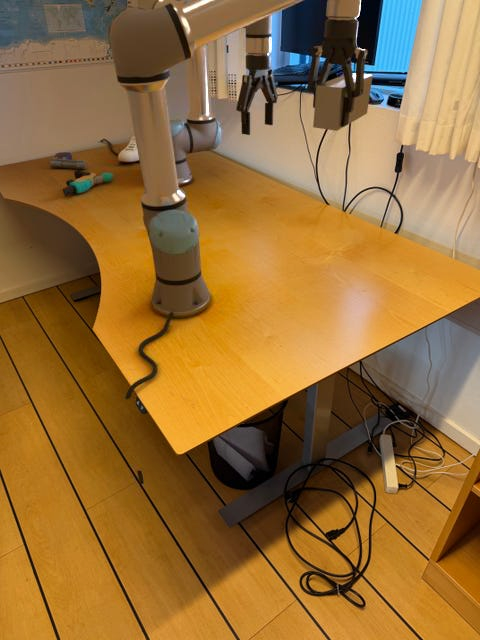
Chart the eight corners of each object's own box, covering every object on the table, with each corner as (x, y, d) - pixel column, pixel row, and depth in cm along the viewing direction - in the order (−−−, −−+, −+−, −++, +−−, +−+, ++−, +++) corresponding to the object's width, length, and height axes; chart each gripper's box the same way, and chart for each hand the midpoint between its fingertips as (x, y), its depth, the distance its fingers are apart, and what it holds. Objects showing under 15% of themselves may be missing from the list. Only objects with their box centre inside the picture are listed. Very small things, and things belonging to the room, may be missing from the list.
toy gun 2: (40, 183, 186) (69, 189, 180) (86, 165, 204) (114, 170, 199) (43, 194, 188) (72, 201, 183) (88, 175, 207) (115, 180, 201)
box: (337, 130, 119) (341, 88, 113) (312, 127, 122) (316, 85, 116) (367, 113, 134) (372, 74, 128) (344, 110, 137) (349, 72, 131)
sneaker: (112, 165, 217) (107, 137, 210) (140, 147, 239) (137, 122, 232) (133, 167, 215) (128, 139, 207) (159, 148, 237) (156, 123, 230)
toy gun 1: (98, 160, 223) (83, 171, 211) (61, 158, 226) (45, 169, 214) (96, 152, 220) (81, 162, 208) (59, 150, 223) (43, 160, 212)
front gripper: (389, 19, 108) (372, 125, 121) (310, 16, 116) (303, 116, 130) (378, 21, 103) (362, 132, 116) (296, 17, 111) (290, 121, 125)
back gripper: (269, 48, 150) (268, 119, 162) (223, 58, 133) (225, 136, 146) (290, 49, 146) (287, 122, 159) (245, 60, 130) (245, 140, 142)
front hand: (331, 123), depth 123 cm, fingers closed on box, 7 cm apart
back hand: (257, 129), depth 152 cm, fingers open, 13 cm apart
